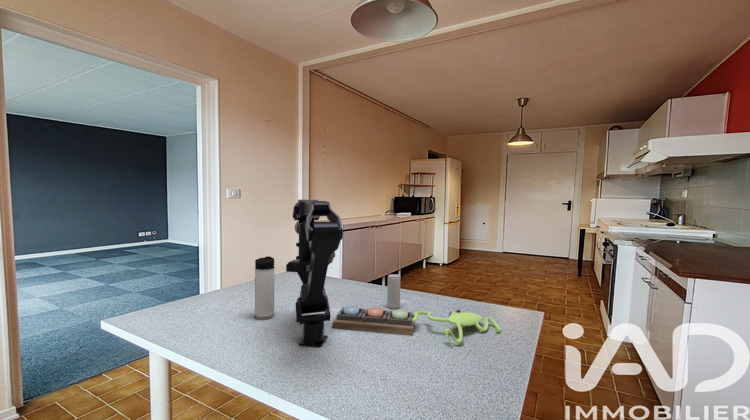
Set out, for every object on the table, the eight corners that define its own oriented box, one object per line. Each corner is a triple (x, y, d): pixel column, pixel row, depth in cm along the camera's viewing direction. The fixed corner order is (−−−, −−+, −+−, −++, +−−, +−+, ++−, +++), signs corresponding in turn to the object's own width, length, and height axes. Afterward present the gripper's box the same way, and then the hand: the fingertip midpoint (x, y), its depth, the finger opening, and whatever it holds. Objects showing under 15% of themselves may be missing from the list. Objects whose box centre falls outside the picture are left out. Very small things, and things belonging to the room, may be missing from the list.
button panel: (412, 335, 98) (413, 324, 98) (332, 328, 102) (332, 317, 102) (414, 320, 109) (414, 310, 109) (342, 314, 114) (342, 305, 114)
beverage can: (399, 309, 120) (399, 277, 119) (386, 308, 121) (386, 276, 120) (400, 305, 125) (401, 274, 124) (388, 304, 126) (388, 273, 125)
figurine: (403, 328, 104) (404, 311, 103) (462, 314, 118) (463, 298, 118) (445, 352, 88) (445, 332, 88) (507, 332, 102) (508, 314, 102)
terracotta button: (381, 321, 103) (381, 313, 103) (366, 319, 104) (366, 312, 103) (383, 315, 108) (384, 308, 108) (369, 314, 108) (369, 306, 108)
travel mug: (277, 313, 114) (277, 256, 113) (269, 320, 107) (269, 260, 107) (260, 312, 115) (260, 256, 114) (251, 319, 108) (251, 259, 107)
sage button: (407, 323, 101) (407, 315, 101) (391, 321, 102) (391, 313, 102) (408, 317, 106) (408, 309, 106) (392, 316, 107) (393, 308, 107)
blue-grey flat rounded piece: (356, 319, 104) (357, 311, 104) (341, 317, 105) (341, 310, 105) (360, 313, 109) (360, 306, 109) (345, 312, 110) (345, 305, 110)
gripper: (322, 244, 92) (321, 299, 92) (340, 237, 110) (340, 282, 111) (285, 243, 94) (284, 296, 94) (309, 235, 112) (309, 280, 113)
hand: (307, 288), depth 103 cm, fingers closed
